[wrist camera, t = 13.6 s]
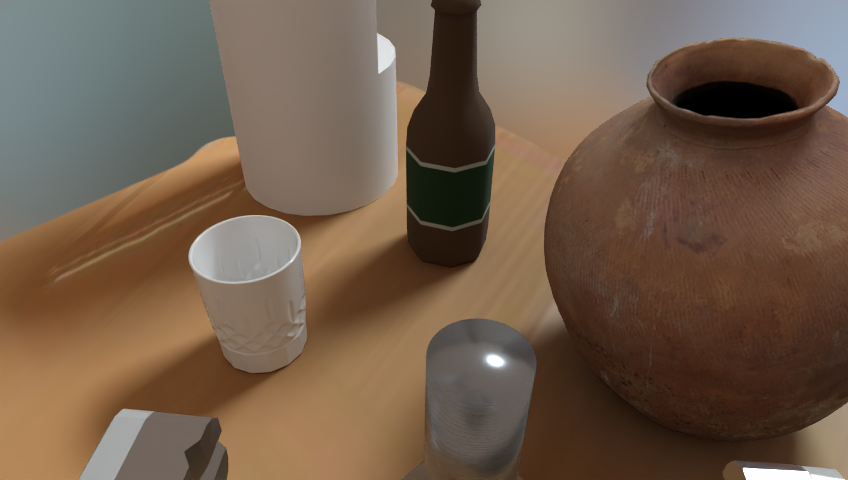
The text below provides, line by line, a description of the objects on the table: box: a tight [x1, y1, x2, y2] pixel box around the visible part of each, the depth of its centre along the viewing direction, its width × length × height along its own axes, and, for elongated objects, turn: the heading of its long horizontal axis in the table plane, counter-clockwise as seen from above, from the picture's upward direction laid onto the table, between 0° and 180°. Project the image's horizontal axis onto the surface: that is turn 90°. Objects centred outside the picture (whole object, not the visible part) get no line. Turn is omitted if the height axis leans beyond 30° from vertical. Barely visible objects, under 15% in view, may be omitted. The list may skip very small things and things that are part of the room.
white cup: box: [188, 215, 307, 373], centre depth 49 cm, size 8×8×10 cm
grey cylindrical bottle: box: [423, 319, 537, 480], centre depth 30 cm, size 5×5×13 cm
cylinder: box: [209, 0, 398, 216], centre depth 64 cm, size 17×17×28 cm
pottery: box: [544, 38, 848, 442], centre depth 43 cm, size 23×23×25 cm
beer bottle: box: [406, 0, 495, 267], centre depth 55 cm, size 8×8×24 cm
